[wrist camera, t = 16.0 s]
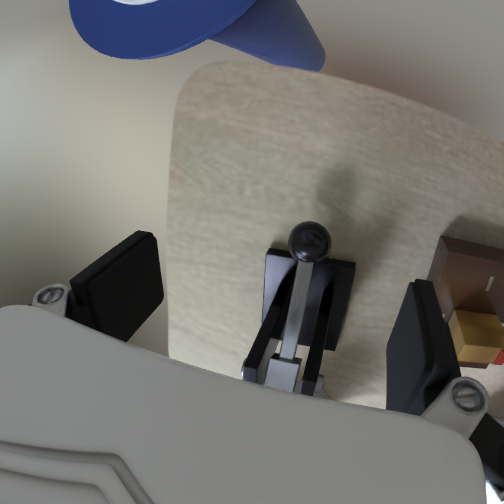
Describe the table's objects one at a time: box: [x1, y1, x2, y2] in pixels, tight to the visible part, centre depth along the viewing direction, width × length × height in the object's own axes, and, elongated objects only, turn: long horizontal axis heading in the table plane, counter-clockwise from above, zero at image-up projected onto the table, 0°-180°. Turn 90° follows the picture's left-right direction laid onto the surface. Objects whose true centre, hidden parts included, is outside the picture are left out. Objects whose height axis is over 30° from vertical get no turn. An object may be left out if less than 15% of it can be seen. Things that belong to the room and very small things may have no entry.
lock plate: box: [427, 236, 504, 369], centre depth 24 cm, size 12×10×3 cm
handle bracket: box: [241, 248, 356, 396], centre depth 25 cm, size 10×8×12 cm
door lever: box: [263, 221, 331, 392], centre depth 22 cm, size 13×3×3 cm
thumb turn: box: [448, 309, 504, 365], centre depth 20 cm, size 5×2×5 cm, turn 90°
